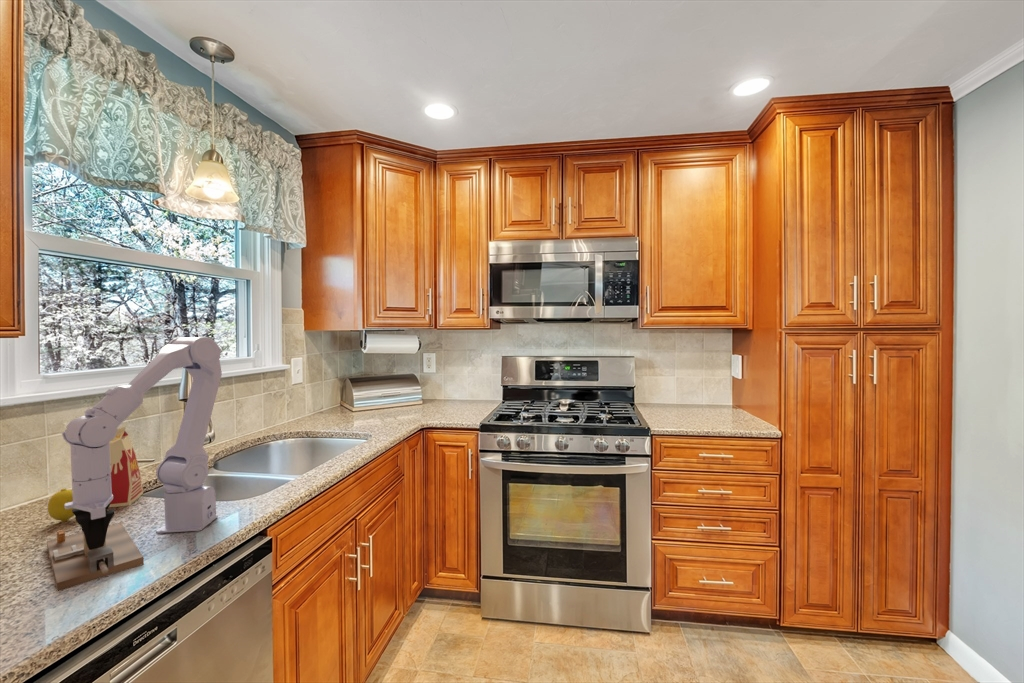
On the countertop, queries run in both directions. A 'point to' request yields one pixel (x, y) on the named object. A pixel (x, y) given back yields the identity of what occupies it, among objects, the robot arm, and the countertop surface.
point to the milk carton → (124, 471)
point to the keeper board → (80, 561)
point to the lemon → (60, 505)
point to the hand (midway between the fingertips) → (94, 544)
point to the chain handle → (82, 550)
